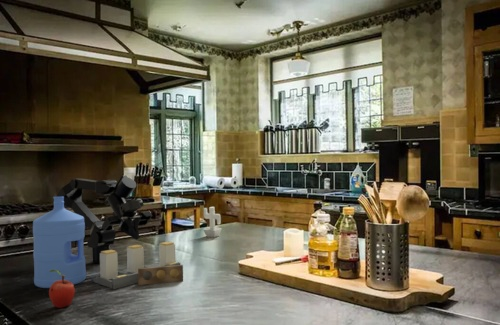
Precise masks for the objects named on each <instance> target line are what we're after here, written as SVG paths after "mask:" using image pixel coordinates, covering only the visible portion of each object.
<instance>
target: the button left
mask: <svg viewBox="0 0 500 325" xmlns="http://www.w3.org/2000/svg"><path fill="white" fill-rule="evenodd" d="M118 257H119V256H118V252H117V250H113V249H111V250H106V251H101V253H100V263H99V273H100V274H99V275H100V276H99V277H102V278H105V279H108V280H109V279H112V278H116V277H117V276H118V272H119V265H118V264H119V263H118Z"/></svg>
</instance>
